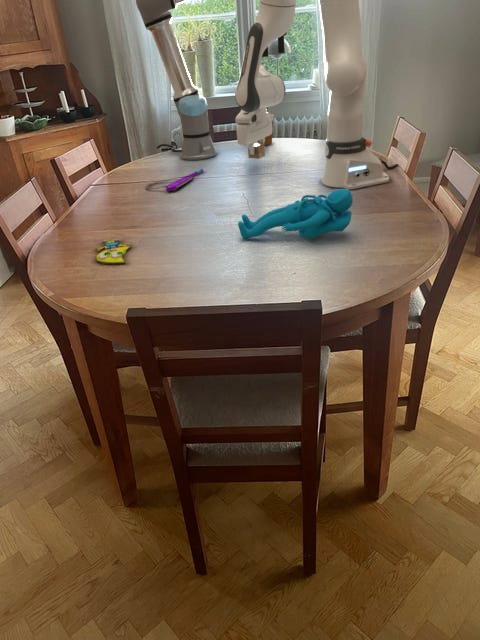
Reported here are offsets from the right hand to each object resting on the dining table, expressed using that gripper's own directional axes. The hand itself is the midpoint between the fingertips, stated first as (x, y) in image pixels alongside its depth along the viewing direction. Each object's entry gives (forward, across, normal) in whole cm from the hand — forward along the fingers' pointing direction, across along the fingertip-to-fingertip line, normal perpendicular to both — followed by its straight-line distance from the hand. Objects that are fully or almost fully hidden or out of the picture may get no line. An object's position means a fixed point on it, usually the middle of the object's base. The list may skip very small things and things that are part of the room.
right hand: (256, 152), depth 184 cm
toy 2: (+6, +54, +44) cm, 70 cm away
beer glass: (+6, -34, -16) cm, 38 cm away
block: (+2, 0, 0) cm, 2 cm away
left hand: (-29, -43, -16) cm, 54 cm away
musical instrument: (+6, +26, -20) cm, 34 cm away
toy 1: (+6, +82, +4) cm, 83 cm away
